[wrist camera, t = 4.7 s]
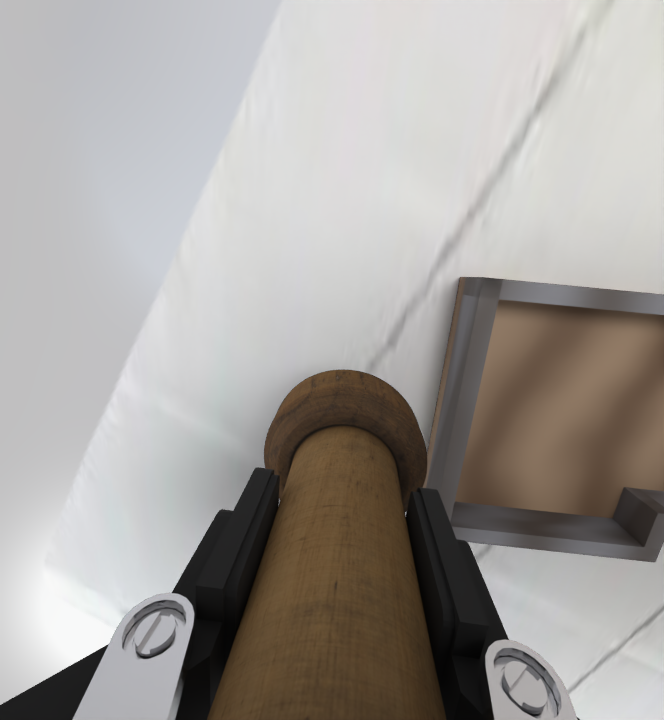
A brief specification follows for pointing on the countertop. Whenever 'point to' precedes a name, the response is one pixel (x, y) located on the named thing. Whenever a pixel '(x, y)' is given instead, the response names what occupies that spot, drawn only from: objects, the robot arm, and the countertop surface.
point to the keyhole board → (552, 419)
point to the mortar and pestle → (337, 566)
